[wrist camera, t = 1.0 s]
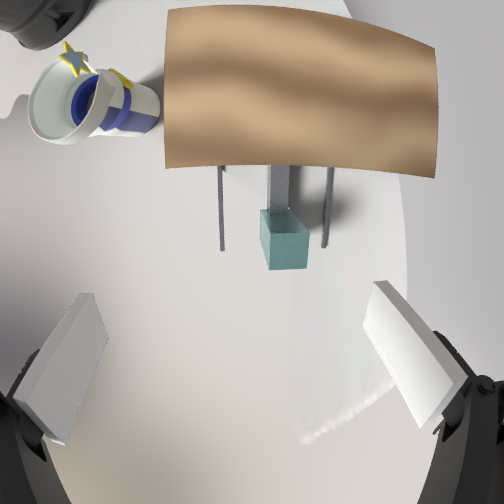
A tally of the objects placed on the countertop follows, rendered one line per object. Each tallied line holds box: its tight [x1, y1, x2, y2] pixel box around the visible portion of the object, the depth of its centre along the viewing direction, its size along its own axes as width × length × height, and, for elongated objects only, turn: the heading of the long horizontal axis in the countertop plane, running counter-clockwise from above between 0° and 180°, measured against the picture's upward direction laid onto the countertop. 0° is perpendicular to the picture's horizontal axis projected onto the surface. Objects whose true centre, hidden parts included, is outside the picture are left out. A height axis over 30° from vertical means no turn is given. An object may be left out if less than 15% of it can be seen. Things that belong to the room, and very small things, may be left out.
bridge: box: [164, 5, 438, 178], centre depth 25 cm, size 12×22×20 cm, turn 90°
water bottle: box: [28, 41, 160, 145], centre depth 20 cm, size 8×8×25 cm
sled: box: [260, 165, 310, 270], centre depth 31 cm, size 26×14×10 cm, turn 0°
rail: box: [218, 165, 333, 251], centre depth 36 cm, size 28×16×1 cm, turn 0°
